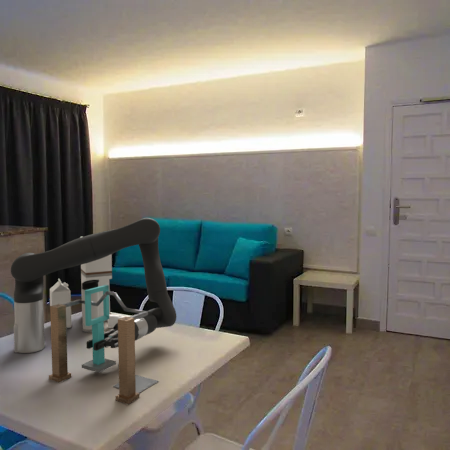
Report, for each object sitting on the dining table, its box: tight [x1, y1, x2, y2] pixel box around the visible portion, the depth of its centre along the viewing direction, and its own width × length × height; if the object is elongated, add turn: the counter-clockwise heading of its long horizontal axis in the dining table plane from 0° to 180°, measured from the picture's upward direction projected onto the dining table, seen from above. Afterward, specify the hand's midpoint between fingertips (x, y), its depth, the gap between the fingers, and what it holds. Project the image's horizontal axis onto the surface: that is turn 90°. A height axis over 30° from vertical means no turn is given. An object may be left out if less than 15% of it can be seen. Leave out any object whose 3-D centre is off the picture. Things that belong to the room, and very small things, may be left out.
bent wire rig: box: [48, 290, 148, 405], centre depth 126 cm, size 30×11×26 cm, turn 60°
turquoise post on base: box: [81, 284, 117, 373], centre depth 133 cm, size 8×7×24 cm
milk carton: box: [49, 278, 73, 329], centre depth 180 cm, size 7×7×19 cm
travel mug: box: [81, 280, 99, 333], centre depth 175 cm, size 6×7×20 cm
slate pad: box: [112, 374, 160, 394], centre depth 127 cm, size 9×9×1 cm
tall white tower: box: [79, 236, 113, 322], centre depth 190 cm, size 11×11×35 cm
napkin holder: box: [107, 313, 131, 329], centre depth 179 cm, size 15×11×6 cm
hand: (91, 346), depth 131 cm, fingers closed on turquoise post on base, 2 cm apart
